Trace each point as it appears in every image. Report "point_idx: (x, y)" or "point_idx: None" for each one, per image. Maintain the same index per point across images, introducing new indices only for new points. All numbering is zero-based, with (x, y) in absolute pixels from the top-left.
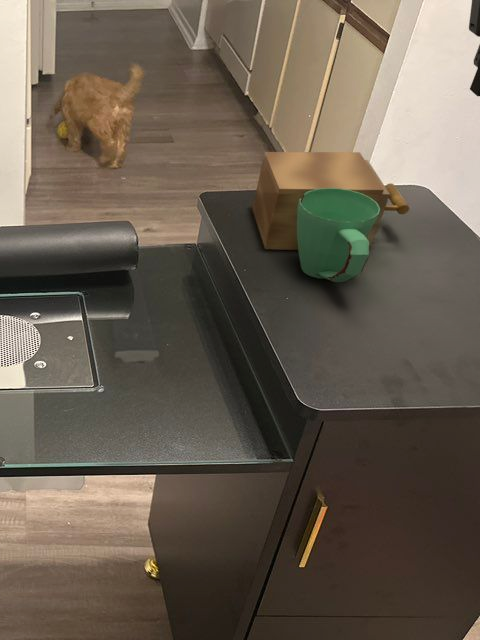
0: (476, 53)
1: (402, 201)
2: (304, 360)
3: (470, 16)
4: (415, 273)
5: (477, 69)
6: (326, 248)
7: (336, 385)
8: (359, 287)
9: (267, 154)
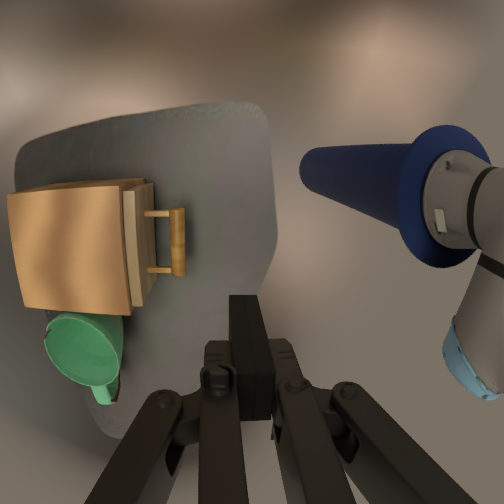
0: (204, 359)
1: (177, 267)
2: (100, 411)
3: (131, 426)
4: (193, 318)
5: (230, 321)
6: (89, 358)
7: (119, 428)
8: (138, 340)
9: (8, 204)
